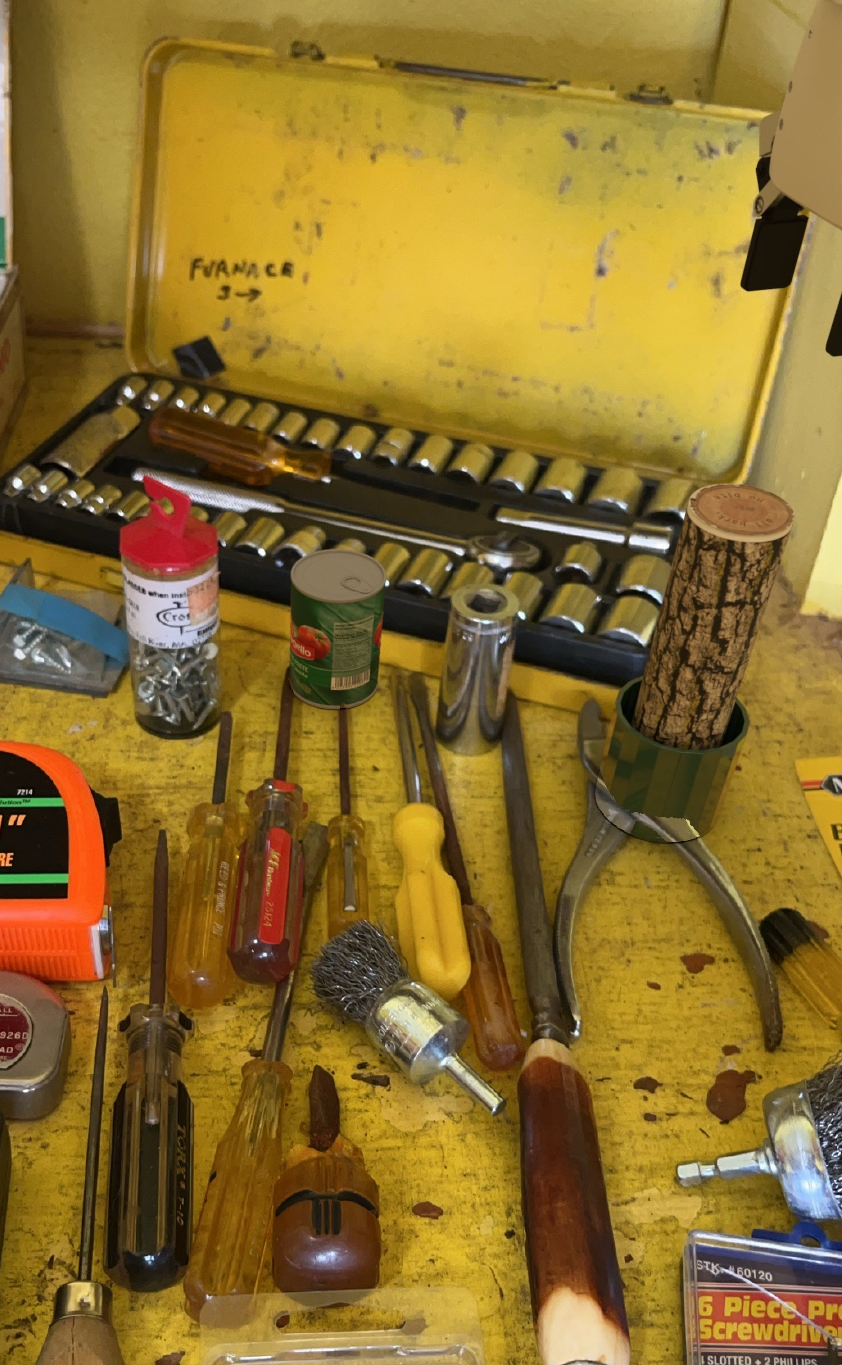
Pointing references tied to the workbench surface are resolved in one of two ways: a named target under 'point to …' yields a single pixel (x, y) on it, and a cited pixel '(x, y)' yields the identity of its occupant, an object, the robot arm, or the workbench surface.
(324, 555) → the canned tomato
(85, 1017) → the workbench surface
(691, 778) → the tool cup
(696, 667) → the paper tube
